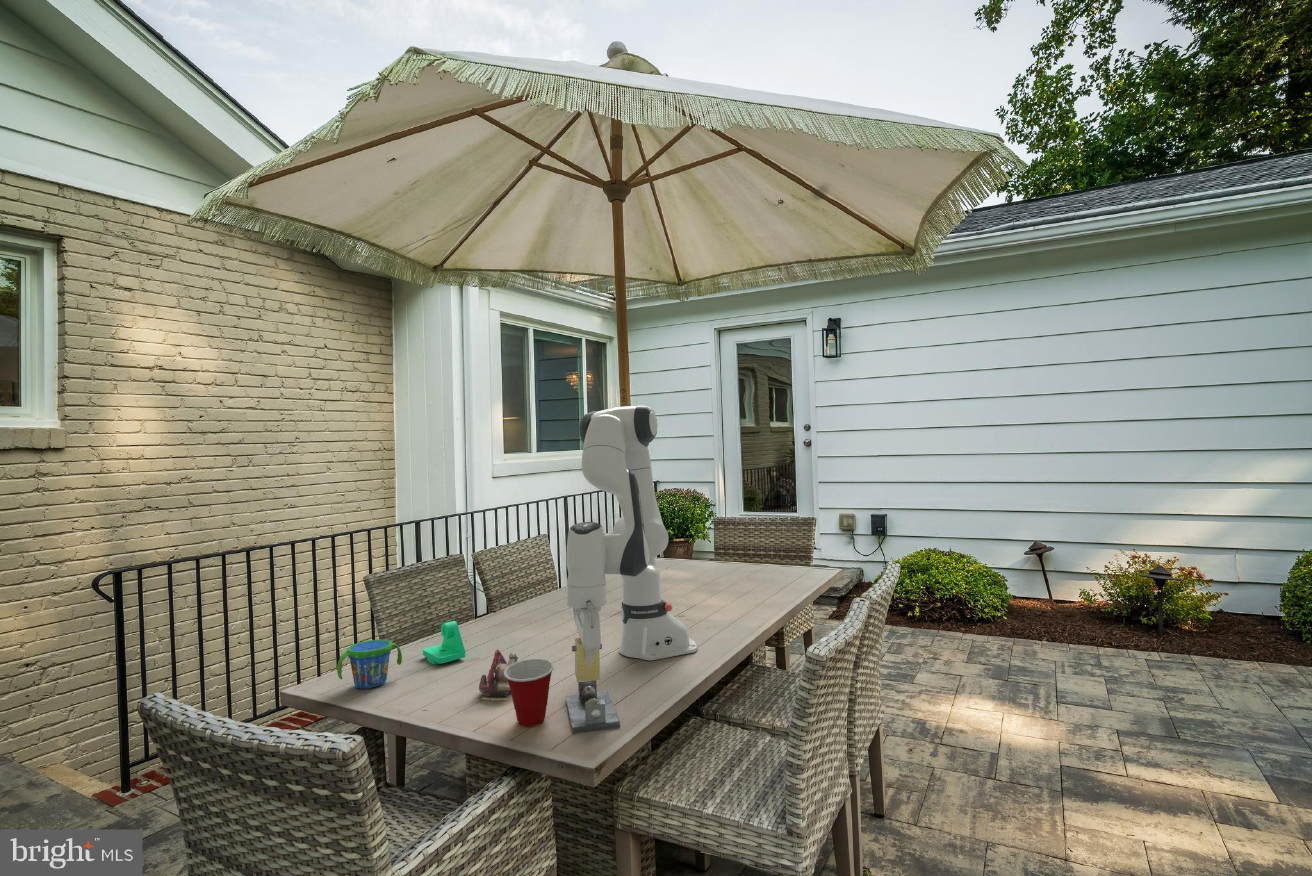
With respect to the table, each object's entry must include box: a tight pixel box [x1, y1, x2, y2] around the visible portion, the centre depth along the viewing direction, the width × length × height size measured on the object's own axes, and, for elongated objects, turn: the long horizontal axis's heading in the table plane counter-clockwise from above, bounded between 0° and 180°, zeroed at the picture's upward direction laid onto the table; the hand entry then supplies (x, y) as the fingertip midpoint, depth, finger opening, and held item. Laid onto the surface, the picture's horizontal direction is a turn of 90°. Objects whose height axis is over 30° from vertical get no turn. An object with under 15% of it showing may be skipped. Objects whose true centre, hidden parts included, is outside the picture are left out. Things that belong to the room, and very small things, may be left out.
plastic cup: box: [504, 658, 554, 728], centre depth 139 cm, size 11×11×12 cm
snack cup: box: [336, 639, 403, 690], centre depth 165 cm, size 16×10×10 cm
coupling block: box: [571, 637, 603, 683], centre depth 142 cm, size 7×5×8 cm
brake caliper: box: [478, 649, 519, 701], centre depth 156 cm, size 11×10×11 cm
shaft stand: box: [565, 680, 621, 734], centre depth 142 cm, size 10×17×5 cm, turn 13°
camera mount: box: [422, 620, 466, 665], centre depth 183 cm, size 12×8×10 cm, turn 43°
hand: (587, 658), depth 142 cm, fingers closed on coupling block, 5 cm apart
